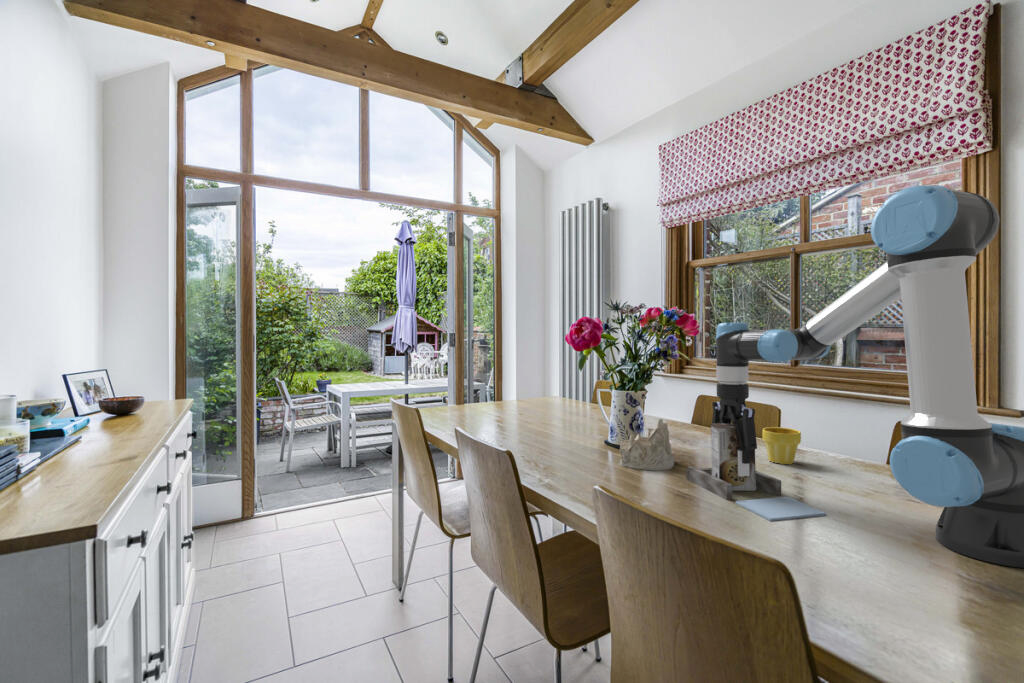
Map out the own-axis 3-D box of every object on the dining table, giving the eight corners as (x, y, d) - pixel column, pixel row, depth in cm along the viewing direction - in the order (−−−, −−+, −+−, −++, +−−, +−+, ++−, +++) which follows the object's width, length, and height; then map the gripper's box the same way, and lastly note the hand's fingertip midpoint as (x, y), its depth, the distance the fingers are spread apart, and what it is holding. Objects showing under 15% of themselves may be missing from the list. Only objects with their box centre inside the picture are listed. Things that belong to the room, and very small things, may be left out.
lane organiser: (781, 494, 118) (781, 480, 118) (726, 499, 115) (726, 485, 115) (734, 474, 135) (734, 462, 135) (686, 478, 132) (686, 465, 132)
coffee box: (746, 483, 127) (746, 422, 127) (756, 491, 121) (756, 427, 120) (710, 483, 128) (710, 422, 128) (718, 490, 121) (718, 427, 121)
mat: (826, 515, 105) (826, 512, 105) (769, 521, 102) (769, 518, 102) (787, 498, 115) (787, 496, 115) (735, 503, 112) (735, 501, 112)
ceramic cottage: (680, 459, 151) (676, 412, 151) (667, 474, 137) (662, 422, 137) (631, 456, 160) (627, 411, 159) (614, 470, 146) (610, 421, 145)
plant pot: (808, 466, 143) (808, 433, 142) (773, 466, 143) (773, 433, 143) (789, 457, 153) (789, 426, 153) (756, 457, 153) (756, 426, 153)
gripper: (774, 386, 115) (774, 481, 115) (720, 378, 135) (721, 460, 135) (746, 387, 113) (746, 484, 113) (696, 379, 133) (696, 462, 133)
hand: (732, 471), depth 124 cm, fingers closed on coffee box, 7 cm apart
